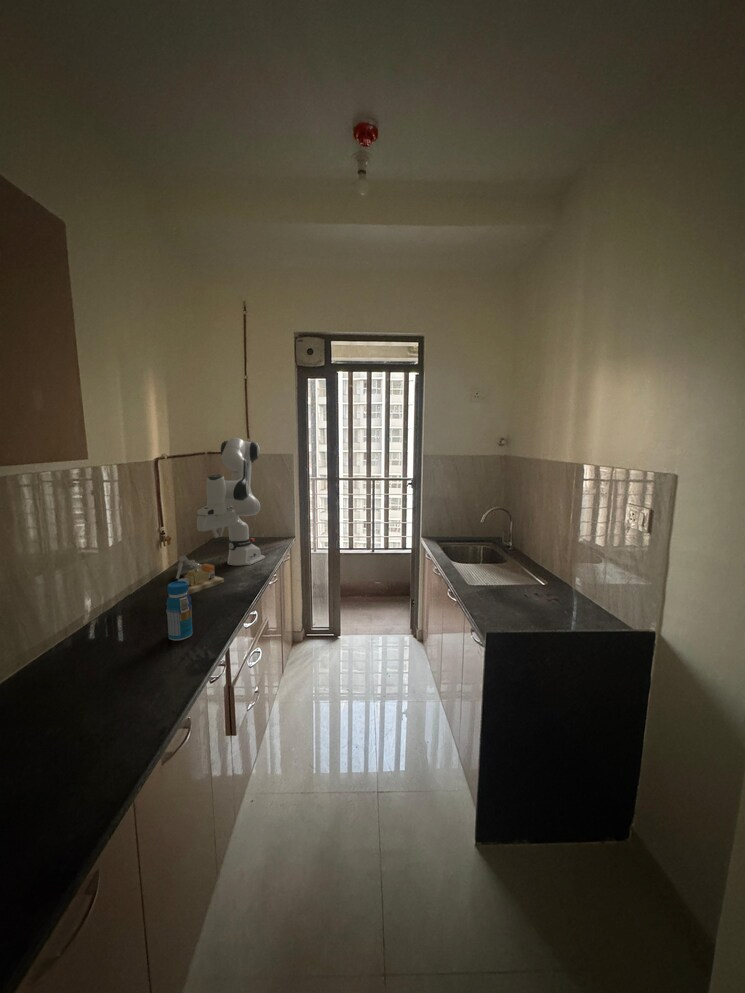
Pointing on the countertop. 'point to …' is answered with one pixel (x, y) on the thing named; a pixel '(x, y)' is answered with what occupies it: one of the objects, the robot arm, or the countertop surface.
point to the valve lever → (205, 567)
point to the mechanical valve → (184, 567)
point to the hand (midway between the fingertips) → (218, 536)
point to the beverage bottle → (179, 611)
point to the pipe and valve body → (197, 576)
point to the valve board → (205, 585)
